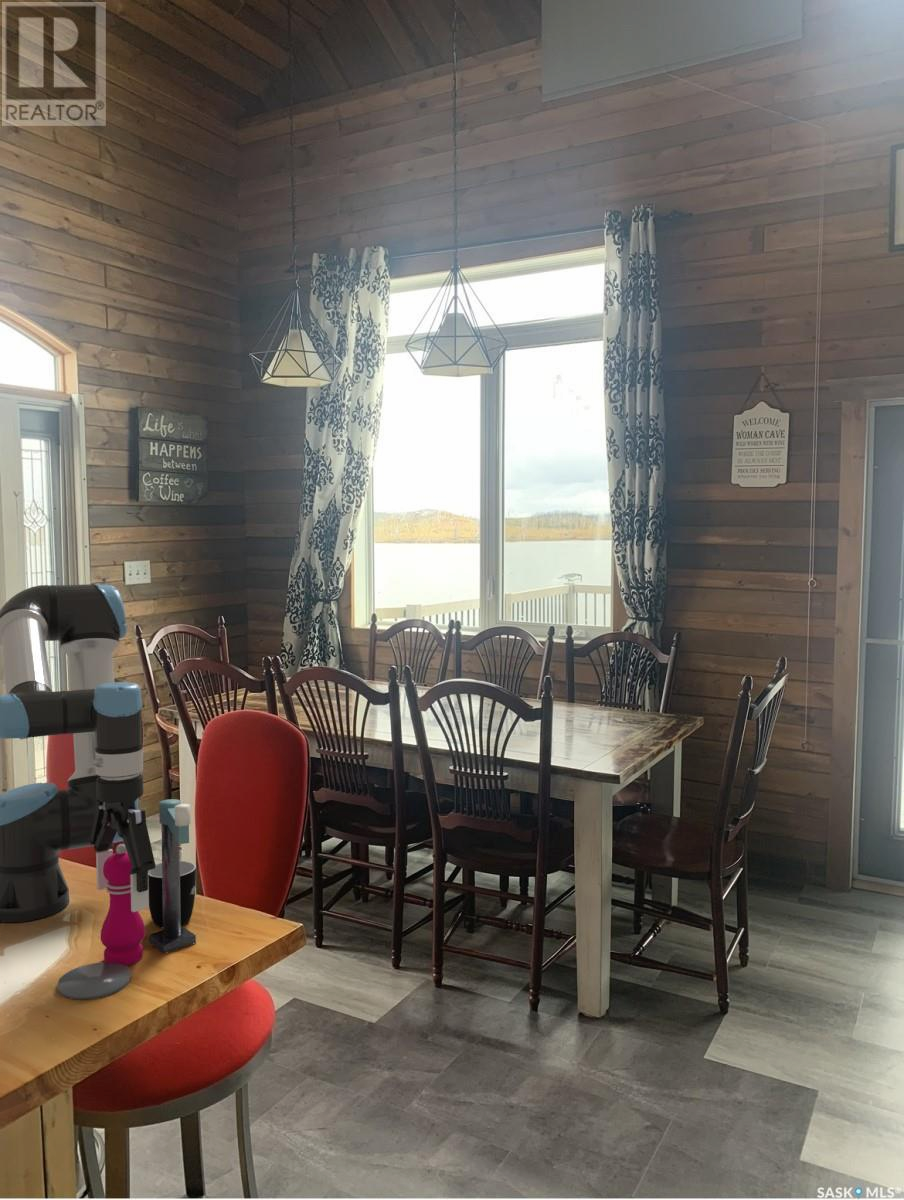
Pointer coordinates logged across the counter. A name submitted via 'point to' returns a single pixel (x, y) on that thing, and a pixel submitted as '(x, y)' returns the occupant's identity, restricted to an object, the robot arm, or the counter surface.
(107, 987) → the slate coaster
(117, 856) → the pepper mill
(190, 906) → the mug
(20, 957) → the counter surface
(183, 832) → the pegged blue crossbar
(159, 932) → the post
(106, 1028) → the counter surface
